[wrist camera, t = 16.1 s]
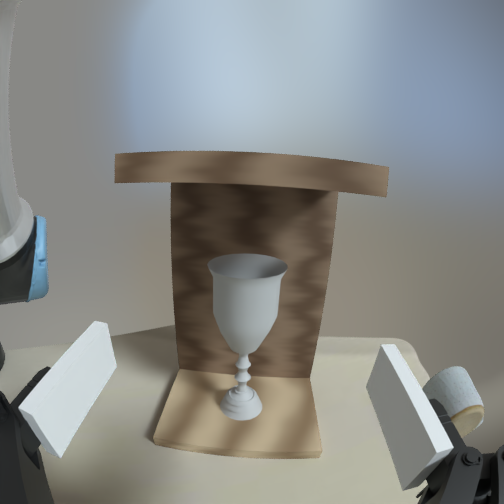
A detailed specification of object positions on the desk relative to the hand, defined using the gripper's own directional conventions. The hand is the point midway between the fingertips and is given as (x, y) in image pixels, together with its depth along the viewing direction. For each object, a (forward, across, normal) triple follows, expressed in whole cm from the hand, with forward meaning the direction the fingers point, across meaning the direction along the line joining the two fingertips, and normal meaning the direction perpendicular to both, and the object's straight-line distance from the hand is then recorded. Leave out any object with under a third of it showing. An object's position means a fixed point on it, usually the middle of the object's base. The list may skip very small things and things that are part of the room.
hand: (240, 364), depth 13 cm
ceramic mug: (+9, +28, -20) cm, 35 cm away
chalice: (+14, 0, -18) cm, 23 cm away
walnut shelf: (+14, 0, -20) cm, 24 cm away
